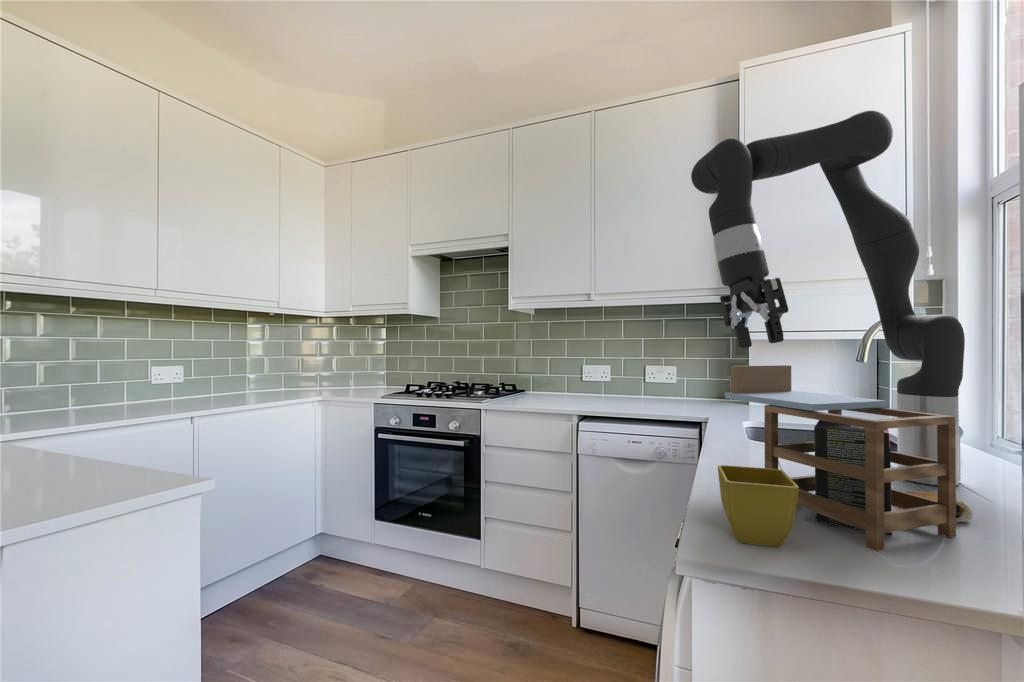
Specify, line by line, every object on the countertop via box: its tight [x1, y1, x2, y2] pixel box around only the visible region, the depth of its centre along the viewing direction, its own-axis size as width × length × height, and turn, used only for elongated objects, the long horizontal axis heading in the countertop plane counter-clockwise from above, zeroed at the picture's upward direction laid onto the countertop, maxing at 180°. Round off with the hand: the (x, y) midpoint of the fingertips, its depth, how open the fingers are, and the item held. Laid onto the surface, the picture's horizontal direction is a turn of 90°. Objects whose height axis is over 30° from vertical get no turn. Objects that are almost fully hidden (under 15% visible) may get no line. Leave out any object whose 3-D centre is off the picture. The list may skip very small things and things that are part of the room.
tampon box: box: [813, 420, 893, 537], centre depth 71 cm, size 11×9×15 cm
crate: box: [764, 404, 957, 552], centre depth 71 cm, size 16×18×17 cm
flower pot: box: [717, 464, 799, 548], centre depth 64 cm, size 9×9×9 cm
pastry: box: [906, 490, 973, 523], centre depth 75 cm, size 9×7×4 cm
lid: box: [724, 364, 888, 412], centre depth 80 cm, size 16×18×6 cm
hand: (760, 345), depth 80 cm, fingers open, 8 cm apart
